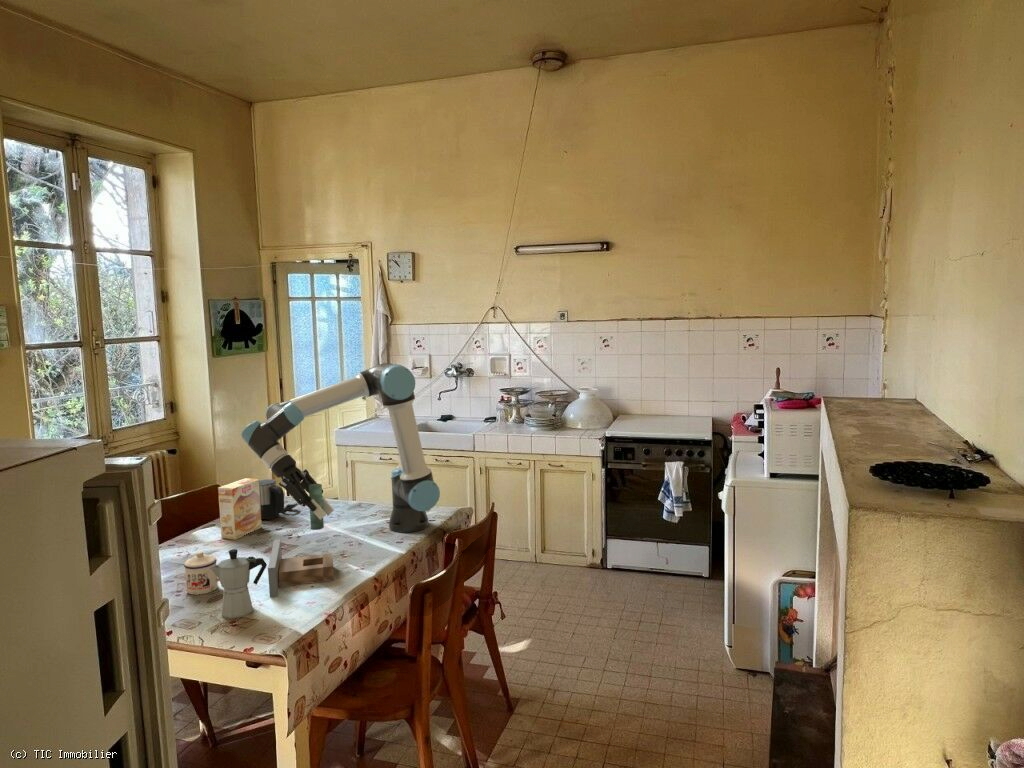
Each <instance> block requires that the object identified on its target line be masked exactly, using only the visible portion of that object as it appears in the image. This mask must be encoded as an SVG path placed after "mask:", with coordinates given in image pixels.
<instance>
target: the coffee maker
mask: <svg viewBox="0 0 1024 768" xmlns="http://www.w3.org/2000/svg"><path fill="white" fill-rule="evenodd" d="M228 553H229V558H228V559H227V558H226V559H224V560H221V561H219V563H218V564H216V566H213V567H211V568H209V569H211V570H212V571H213V572H214V573H215V574H216V576H217V578H219V580H220V581H219V582H220V587H222V588H223V595H222V606H221V617H222V618H225V619H230V620H233V619H238V618H243V617H246V616H248V615H249V614H251V613H253V612H254V608H253V604H252V599H251V595H250V591H249V586H248V585H249V583H250V574H251V570H253V569H255V568H257V567H258V566H261V567H260V568H259V571H258V573H257V574H256V576H255V579H253V584H254V585H255V586H257V585H258V582H259V581H260V579H261V577H262V576H263V573H264V571H265V569H266V568H267V567H268V565H267V564H268V563H266V561H265V559H264V558H262V557H257V558H256V557H254V556H248V557H246V556H244V557H243V556H238V549H236V548H232V549H230V550H228Z"/></svg>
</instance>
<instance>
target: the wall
mask: <svg viewBox="0 0 1024 768" xmlns="http://www.w3.org/2000/svg"><path fill="white" fill-rule="evenodd" d="M269 557H270V558H269V562H268V565H267V572H268V573H267V576H268V577H267V578H268V588H269V590H268V591H269V598H270V599H271V598H278V594H279V588H280V587H279V568H280V562H281V559H283V556H282V541H281V539H280V538H279V539H274V540H273V545H272V548H271V553H270V556H269Z"/></svg>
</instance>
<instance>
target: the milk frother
mask: <svg viewBox="0 0 1024 768" xmlns="http://www.w3.org/2000/svg"><path fill="white" fill-rule="evenodd" d="M259 492H260V508H261V519H267V520H272V519H275V518H278V517H279V516H280V514H281V513H285V512H286V511H288V512H289V510H290V511H291V510H293V509H294V508H296V507H297V506H298V503H294V504H293V503H292V504H291V503H290V504H289V503H288V504H287V505H286V506H285V491H284V490H283V487H282V486H280V485H277V480H276V479H272V478H270V479H269V478H268V479H259ZM277 516H278V517H277ZM271 518H272V519H271Z"/></svg>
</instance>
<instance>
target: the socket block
mask: <svg viewBox="0 0 1024 768" xmlns="http://www.w3.org/2000/svg"><path fill="white" fill-rule="evenodd" d="M333 556H334V555H333V553H323V554H312V555H306V556H305V555H304V556H296V557H287V558H282V559H281V562H280V568H279V588H282V587H289V586H296V585H297V586H298V585H306V584H313V583H323V582H331V581H335V580H334V579H335V578H334V576H335V575H334V559H333V558H334V557H333ZM330 580H331V581H330ZM322 581H323V582H322Z"/></svg>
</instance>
